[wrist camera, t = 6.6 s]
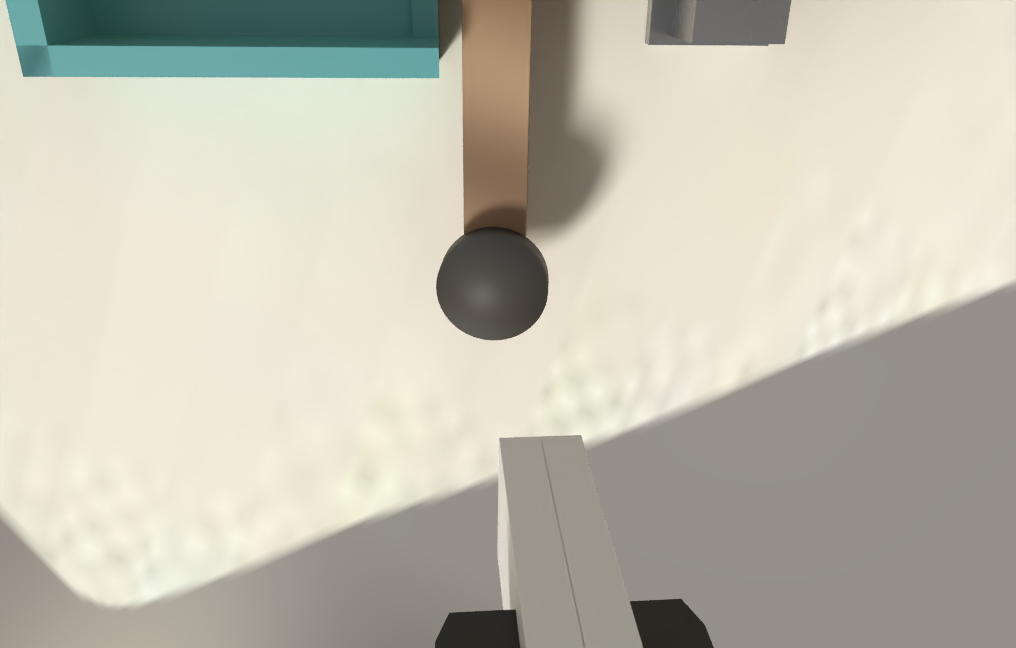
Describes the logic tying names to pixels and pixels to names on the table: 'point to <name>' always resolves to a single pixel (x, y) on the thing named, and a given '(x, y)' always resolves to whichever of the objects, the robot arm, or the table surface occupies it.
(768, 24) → the stand
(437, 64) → the tray
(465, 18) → the lever
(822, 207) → the table surface
